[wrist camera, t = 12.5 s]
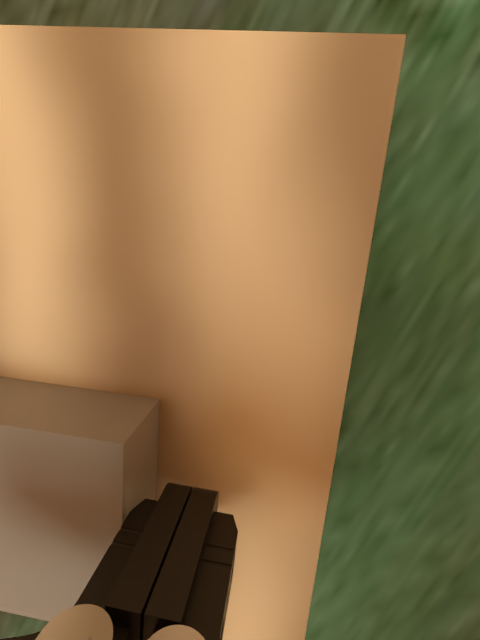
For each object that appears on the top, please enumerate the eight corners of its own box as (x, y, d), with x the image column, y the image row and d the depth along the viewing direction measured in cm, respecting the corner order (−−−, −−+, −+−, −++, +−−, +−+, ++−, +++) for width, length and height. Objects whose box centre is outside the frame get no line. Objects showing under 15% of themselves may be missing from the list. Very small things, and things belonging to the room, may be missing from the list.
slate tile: (160, 399, 11) (123, 444, 8) (154, 558, 12) (120, 637, 10) (-17, 374, 11) (-99, 408, 9) (-4, 528, 13) (-72, 594, 10)
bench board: (356, 123, 14) (406, 34, 8) (296, 526, 18) (300, 660, 12) (73, 108, 15) (-61, 23, 9) (79, 487, 19) (-11, 592, 13)
